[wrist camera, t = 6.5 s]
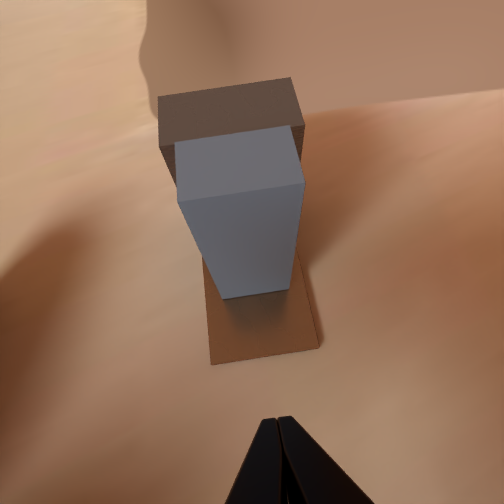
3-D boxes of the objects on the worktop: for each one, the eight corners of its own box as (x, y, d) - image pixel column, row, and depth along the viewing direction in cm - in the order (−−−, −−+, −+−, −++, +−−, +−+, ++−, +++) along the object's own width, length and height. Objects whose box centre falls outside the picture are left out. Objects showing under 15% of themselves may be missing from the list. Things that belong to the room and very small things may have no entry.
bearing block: (318, 348, 18) (358, 300, 10) (212, 365, 18) (162, 331, 10) (282, 190, 23) (288, 70, 14) (198, 203, 22) (157, 89, 14)
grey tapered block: (288, 289, 19) (305, 182, 10) (222, 299, 19) (177, 201, 10) (264, 171, 23) (260, 18, 14) (209, 179, 23) (169, 31, 14)
